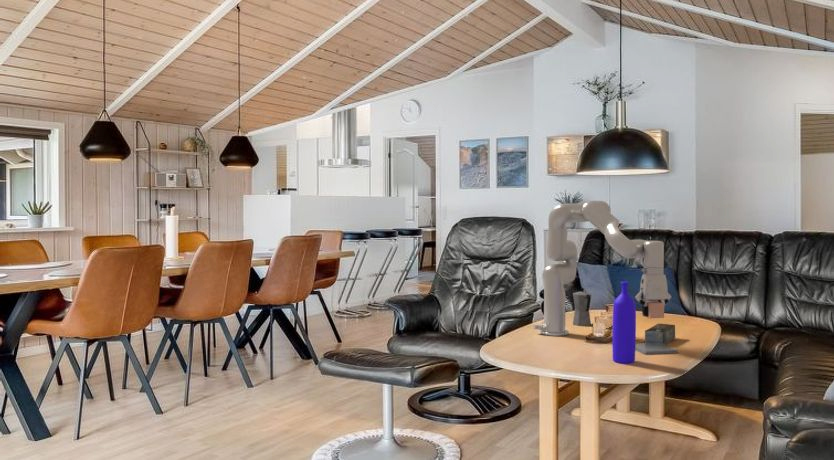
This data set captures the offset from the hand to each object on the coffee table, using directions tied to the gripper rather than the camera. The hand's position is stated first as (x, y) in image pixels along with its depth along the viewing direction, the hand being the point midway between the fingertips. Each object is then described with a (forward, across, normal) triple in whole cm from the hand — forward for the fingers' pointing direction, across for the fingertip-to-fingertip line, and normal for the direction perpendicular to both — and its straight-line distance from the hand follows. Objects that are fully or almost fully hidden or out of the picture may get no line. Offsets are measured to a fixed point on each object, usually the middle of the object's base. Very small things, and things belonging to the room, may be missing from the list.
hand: (653, 315), depth 270 cm
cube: (+1, 0, 0) cm, 1 cm away
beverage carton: (+15, +13, +16) cm, 25 cm away
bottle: (+14, -21, -16) cm, 30 cm away
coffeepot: (+14, -4, +57) cm, 59 cm away
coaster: (+14, 0, 0) cm, 14 cm away
